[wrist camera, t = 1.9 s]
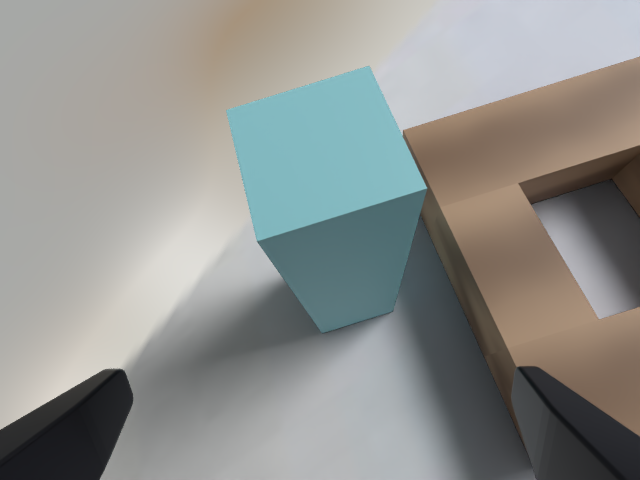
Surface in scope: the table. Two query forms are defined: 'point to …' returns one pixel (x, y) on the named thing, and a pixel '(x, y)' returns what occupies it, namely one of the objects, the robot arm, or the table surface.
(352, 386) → the table surface
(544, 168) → the walnut socket block
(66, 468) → the robot arm
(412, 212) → the teal peg
